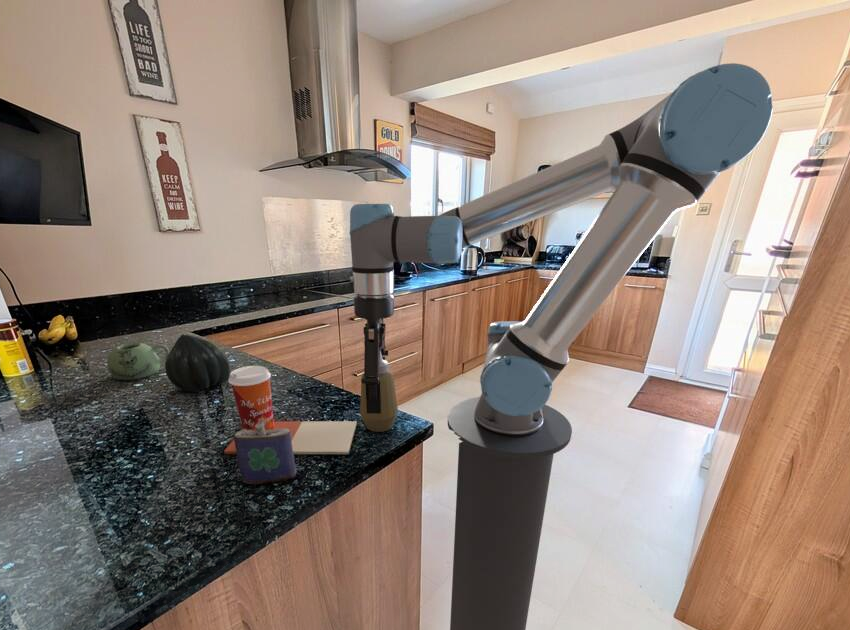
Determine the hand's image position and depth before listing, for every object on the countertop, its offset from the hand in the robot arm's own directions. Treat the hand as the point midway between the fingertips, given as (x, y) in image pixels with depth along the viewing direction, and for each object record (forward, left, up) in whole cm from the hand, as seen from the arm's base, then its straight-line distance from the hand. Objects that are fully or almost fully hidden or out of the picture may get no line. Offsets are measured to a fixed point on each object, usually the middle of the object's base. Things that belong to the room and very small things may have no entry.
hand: (377, 397), depth 81 cm
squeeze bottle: (0, 0, -7) cm, 7 cm away
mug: (+73, -32, -7) cm, 80 cm away
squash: (+50, -22, -7) cm, 55 cm away
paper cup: (+24, +5, -6) cm, 25 cm away
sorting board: (+17, +5, -7) cm, 19 cm away
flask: (+17, +18, -7) cm, 26 cm away
